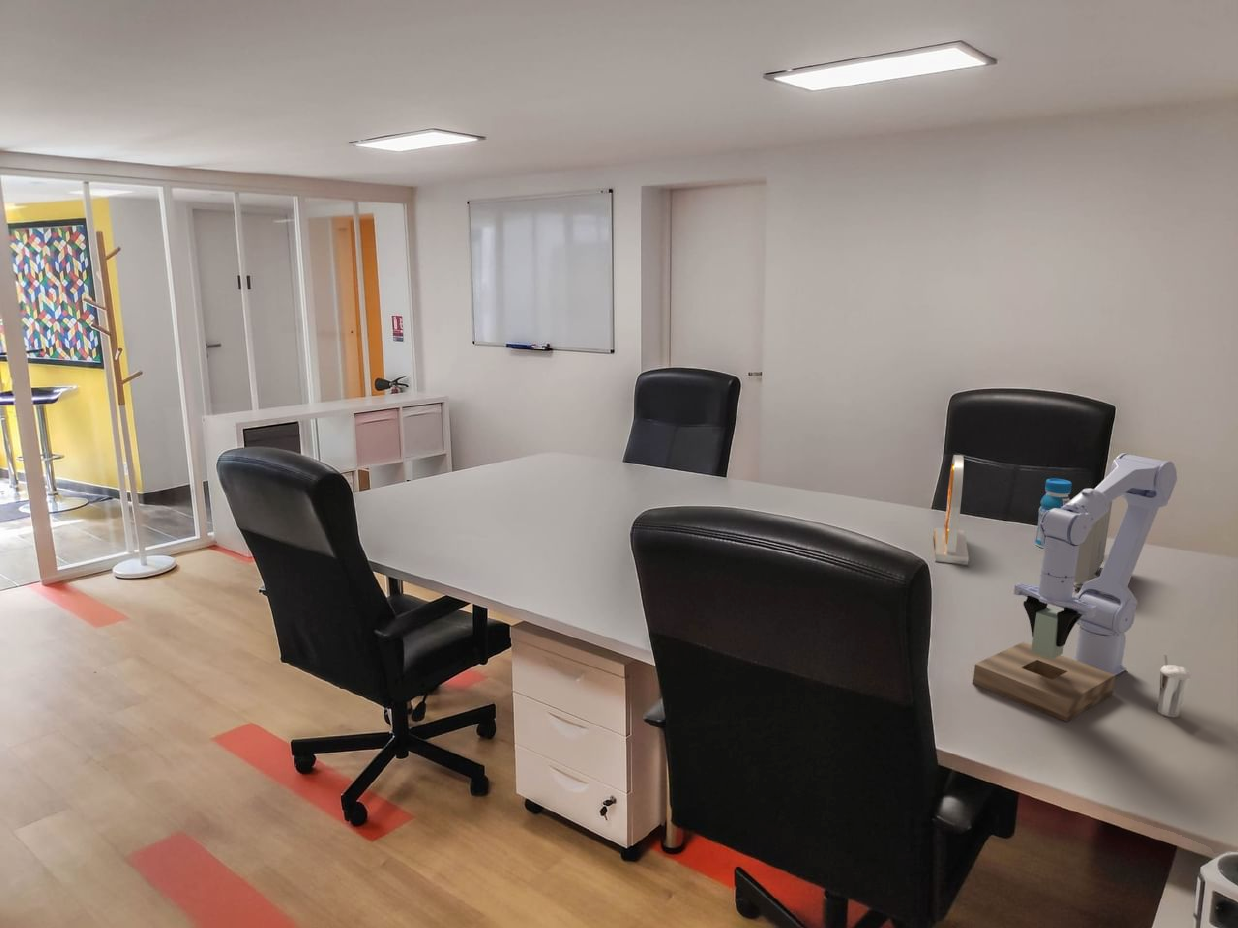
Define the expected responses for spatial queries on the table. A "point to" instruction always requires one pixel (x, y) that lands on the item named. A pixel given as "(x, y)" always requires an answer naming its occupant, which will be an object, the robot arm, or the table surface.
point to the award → (952, 521)
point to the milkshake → (1172, 689)
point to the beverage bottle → (1052, 500)
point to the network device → (1092, 551)
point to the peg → (1046, 634)
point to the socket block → (1044, 681)
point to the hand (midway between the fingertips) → (1048, 640)
